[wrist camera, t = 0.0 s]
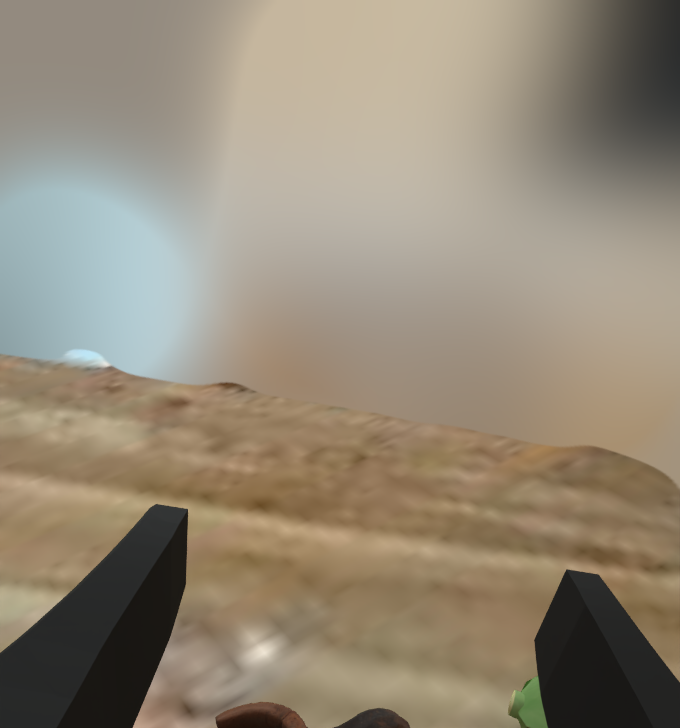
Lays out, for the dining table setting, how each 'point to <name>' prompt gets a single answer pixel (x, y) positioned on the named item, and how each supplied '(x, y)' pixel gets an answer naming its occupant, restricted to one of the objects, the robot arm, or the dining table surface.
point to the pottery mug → (280, 724)
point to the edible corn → (528, 706)
